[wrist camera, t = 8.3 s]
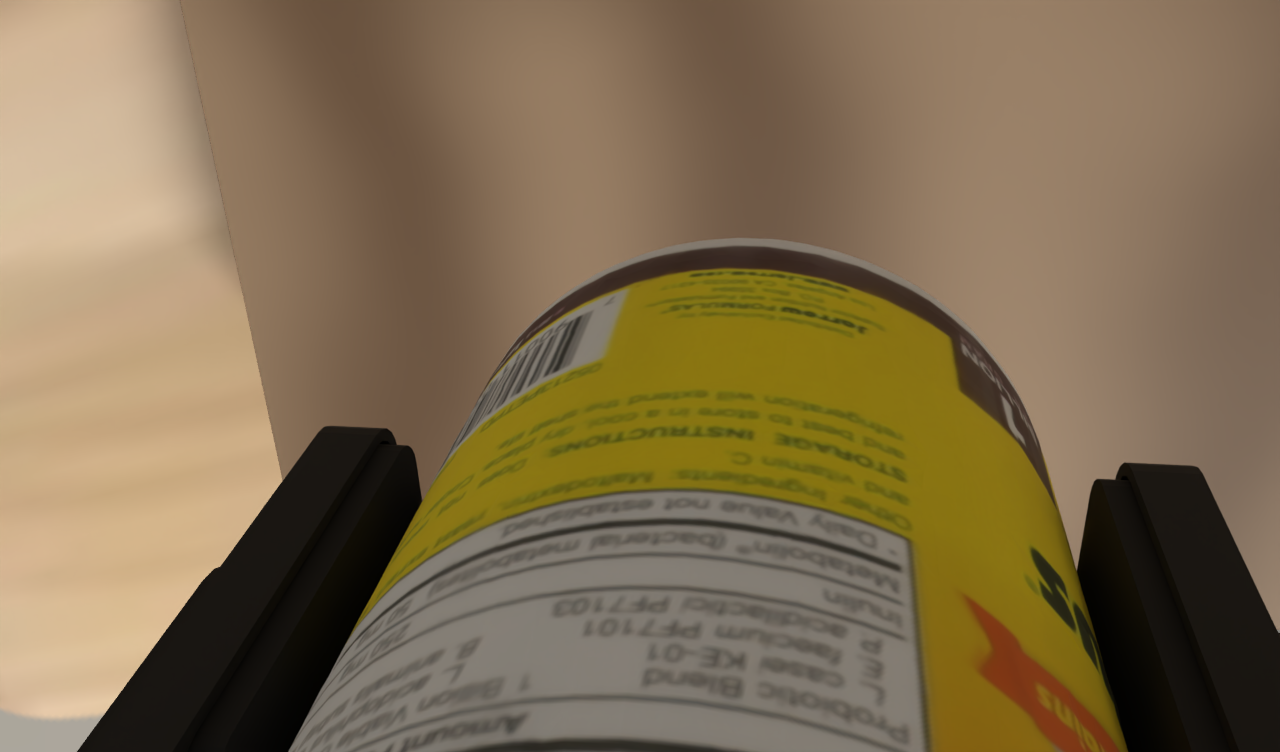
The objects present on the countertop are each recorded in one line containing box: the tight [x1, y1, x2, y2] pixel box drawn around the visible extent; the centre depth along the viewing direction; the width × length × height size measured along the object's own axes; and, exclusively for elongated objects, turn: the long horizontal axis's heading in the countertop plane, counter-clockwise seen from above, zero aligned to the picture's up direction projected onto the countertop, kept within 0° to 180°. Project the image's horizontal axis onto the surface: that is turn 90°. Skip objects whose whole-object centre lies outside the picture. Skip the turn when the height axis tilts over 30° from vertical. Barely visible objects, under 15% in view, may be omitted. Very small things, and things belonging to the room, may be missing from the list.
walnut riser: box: [180, 0, 1280, 630], centre depth 20 cm, size 18×14×5 cm
